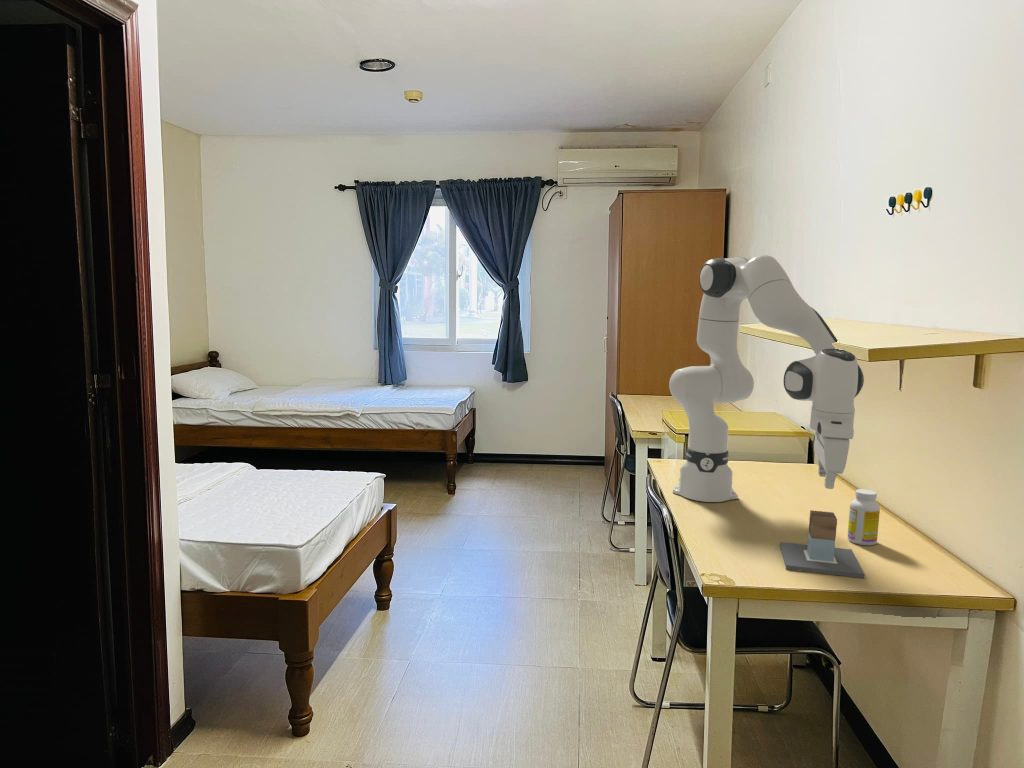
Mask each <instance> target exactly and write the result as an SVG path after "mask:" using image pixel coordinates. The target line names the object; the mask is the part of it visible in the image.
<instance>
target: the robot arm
mask: <svg viewBox="0 0 1024 768" xmlns="http://www.w3.org/2000/svg"><path fill="white" fill-rule="evenodd" d="M698 282H699V287H700V289H701V291H702V292H703V295H702V298H701V301H700V307H699V313H698V321H697V322H698V323H697V333H696V343H697V346H698V347H699V349H700V350H702V351H703V352H705V353H706V354H708V356H709V357H710V358H709V359H710V364H709V365H695V366H693V365H691V366H687V367H682V368H679V369H676V370H674V372H673V373H672V374H671V376H670V378H669V381H668V383H669V384H668V387H669V392H670V394H671V396H672V398H673V399H674V400H675V401H676V402H677V403H678V404H679V405H680V406H681V407H682V408H683V410H684V412H685V414H686V417H687V421H688V447H687V448H686V453H685V455H686V457H685V459H686V461H685V463H683V464H682V466H681V467H680V469H679V479H678V481H679V482H678V484H677V485H675V487H674V488H673V489H672V493H673V494H676V495H680V496H681V497H683V498H686V499H690V500H694V501H697V502H703V503H704V502H705V503H721V502H726V501H730V500H737V499H739V494H738V493H737V492H736V491H735V489H734V488H733V470H732V469H731V467H729V464H728V463H729V457H730V456H729V450H728V444H729V443H728V442H729V441H728V440H729V426H728V423H727V422H726V420H725V419H724V418H722V417H720V416H718V415H717V414H716V413H715V409H714V408H715V407H714V404H729V403H731V404H732V403H736V402H740V401H744V400H746V399H748V398H749V397H750V396H751V394H752V393H753V391H754V385H755V381H754V376H753V375H752V373H751V371H750V370H749V369H748V368H747V367H745V365H744V364H743V363H742V361H741V358H740V356H739V352H738V330H739V322H740V321H739V320H740V312H741V311H740V309H741V304H742V302H743V301H744V300H745V299H747V300H748V303H749V306H750V308H751V310H752V312H753V315H754V316H755V317H756V318H757V320H759V322H760V323H761V324H762V325H765V326H767V328H768V327H769V328H772V329H773V330H774V329H775V330H779V331H784V332H787V333H790V334H793V335H795V336H797V337H800V338H801V339H803V340H804V341H806V342H807V344H808V345H809V346H810V348H811V349H812V351H813V353H814V354H815V355H814V356H811V357H808V358H804V359H799V360H794V361H792V362H790V364H788V366H787V367H786V368H785V371H784V374H783V388H784V391H785V392H786V393H787V395H789V397H790V398H791V399H793V400H797V401H801V402H802V401H803V402H805V401H807V402H808V401H809V402H810V401H811V402H812V404H811V410H810V411H811V412H810V422H809V429H812V430H814V431H815V432H814V442H813V443H814V444H813V451H814V453H815V455H816V457H817V462H818V471H817V472H818V475H819V477H823V478H824V488H825V489H827V490H833V489H834V488H835V482H836V478H837V475H838V474H841V475H842V474H843V473H844V472H845V468H846V465H847V462H848V461H847V460H848V455H849V449H850V441H851V440H853V439H854V433H855V432H854V423H855V421H854V420H855V414H856V413H855V411H856V410H855V404H854V403H855V398H856V397H857V396H858V395H859V394H860V392H861V391H862V390H863V387H864V383H865V376H864V373H863V370H862V368H861V366H860V365H859V364H858V360H857V357H856V355H854V354H853V353H852V352H851V351H847V350H845V349H844V350H839V349H835V347H834V346H833V345H832V343H834V342H837V341H839V340H838V338H837V337H836V336H835V334H834V333H833V332H832V330H831V329H830V326H829V325H828V323H827V322H826V321H825V320H824V319H823V317H822V316H821V314H819V312H818V311H817V310H815V309H814V308H813V307H812V306H810V305H809V303H807V302H806V301H805V300H804V299H803V298H802V297H801V295H800V294H799V292H797V290H796V289H795V287H794V285H793V283H792V281H791V280H790V277H789V276H788V273H787V272H786V271H785V270H784V268H783V266H782V265H781V264H780V263H779V262H778V260H777V259H776V258H774V257H773V256H771V255H768V254H760V255H758V256H754V257H748V256H747V257H745V256H740V257H728V258H726V257H725V258H722V257H717V258H711V259H709V260H707V261H705V262H704V263H703V265H702V267H701V268H700V270H699V277H698Z"/></svg>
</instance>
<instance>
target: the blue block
mask: <svg viewBox="0 0 1024 768" xmlns="http://www.w3.org/2000/svg"><path fill="white" fill-rule="evenodd" d="M807 533H808V534H807V535H808V536H807V544H806V545H807V553H808V556H809V558H810V559H813V560H821V561H830V562H833V561H834V550H835V548H836V540H835V541H834V540H824V539H814V538H811V536H810V533H809V532H807Z"/></svg>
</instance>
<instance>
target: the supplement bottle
mask: <svg viewBox="0 0 1024 768" xmlns="http://www.w3.org/2000/svg"><path fill="white" fill-rule="evenodd" d="M854 495H855V499H852V500H851V501H850V504H849V511H848V512H849V514H848V525H847V539H848V541H850V542H851V543H852V544H856V545H858V546H859V545H860V546H870V547H871V546H874V545H876V544H877V543H878V537H879V536H878V534H879V525H880V524H879V522H880V514H881V506H880V504H879V503H878V502H877V501H876V499H877V492H876V491H874V490H871V489H866V488H858V489H856V490H855V494H854Z"/></svg>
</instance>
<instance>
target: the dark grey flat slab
mask: <svg viewBox="0 0 1024 768" xmlns="http://www.w3.org/2000/svg"><path fill="white" fill-rule="evenodd" d="M807 545H808V544H806V543H805V544H803V543H795V542H787V541H780V542H779V548H780V547H781V548H780V551H782V552H781V555H782V559H783V563H784V566H785V570H788V569H791V570H790V571H796V570H801V571H800V572H805V571H809V572H808V573H813V572H815V573H816V574H822V573H823V575H831V574H832V575H833V574H834V575H833V576H839V575H840V576H842V577H848V578H858V579H865V572H864V570H863V568H862V567H861V564H860V562H859V561H858V559H857V556H856V555H855V552H854V551H853V549H851V548H844V547H843V548H841V547H835V550H834V561H833V562H830V561H821V560H813V559H810V558H809V556H808V553H807ZM832 575H831V576H832ZM840 576H839V577H840Z"/></svg>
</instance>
